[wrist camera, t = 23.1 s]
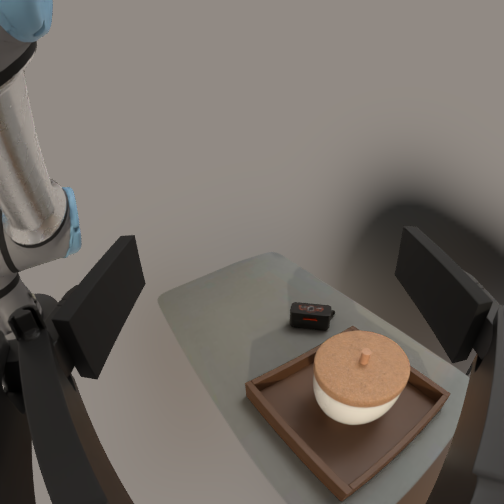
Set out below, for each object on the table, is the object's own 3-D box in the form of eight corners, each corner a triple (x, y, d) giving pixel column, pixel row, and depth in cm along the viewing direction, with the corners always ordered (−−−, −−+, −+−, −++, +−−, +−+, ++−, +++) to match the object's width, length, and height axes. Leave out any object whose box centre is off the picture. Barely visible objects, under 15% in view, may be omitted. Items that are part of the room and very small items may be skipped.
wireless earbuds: (333, 332, 46) (335, 316, 44) (289, 328, 48) (289, 312, 46) (334, 314, 50) (336, 299, 48) (293, 310, 52) (294, 295, 50)
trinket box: (343, 455, 26) (363, 411, 22) (291, 395, 34) (294, 342, 30) (407, 407, 30) (433, 356, 26) (355, 361, 39) (367, 308, 35)
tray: (341, 502, 21) (346, 494, 20) (246, 396, 36) (244, 382, 34) (442, 406, 30) (450, 393, 28) (350, 339, 44) (352, 325, 43)
